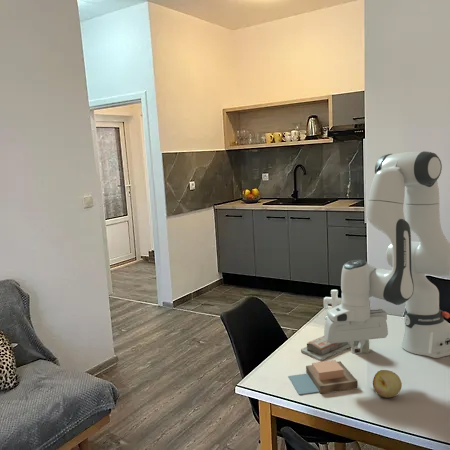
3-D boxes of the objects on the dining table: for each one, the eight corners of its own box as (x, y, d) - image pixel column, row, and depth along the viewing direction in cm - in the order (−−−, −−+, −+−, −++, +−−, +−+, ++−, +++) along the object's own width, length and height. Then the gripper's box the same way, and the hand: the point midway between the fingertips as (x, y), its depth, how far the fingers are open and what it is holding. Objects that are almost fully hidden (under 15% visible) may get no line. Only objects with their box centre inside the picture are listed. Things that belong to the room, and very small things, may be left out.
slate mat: (310, 373, 152) (310, 373, 152) (322, 391, 140) (322, 390, 140) (288, 376, 151) (288, 376, 151) (299, 395, 139) (298, 394, 139)
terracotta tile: (335, 367, 150) (335, 359, 150) (343, 377, 143) (343, 369, 143) (312, 370, 149) (311, 363, 149) (319, 380, 142) (319, 372, 142)
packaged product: (333, 327, 178) (353, 335, 170) (333, 339, 179) (353, 347, 170) (299, 341, 168) (319, 349, 160) (300, 353, 169) (320, 362, 160)
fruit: (368, 392, 138) (367, 368, 136) (392, 387, 139) (392, 363, 138) (382, 405, 130) (381, 379, 129) (407, 400, 132) (407, 374, 131)
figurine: (327, 319, 198) (325, 286, 196) (348, 322, 194) (347, 288, 192) (322, 325, 192) (320, 291, 190) (344, 328, 188) (343, 293, 185)
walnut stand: (340, 368, 154) (340, 361, 154) (357, 388, 140) (357, 381, 140) (306, 372, 153) (306, 365, 152) (320, 393, 139) (320, 386, 139)
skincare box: (369, 348, 168) (368, 316, 166) (369, 353, 163) (368, 321, 161) (351, 347, 169) (350, 316, 167) (351, 352, 165) (350, 320, 163)
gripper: (382, 305, 149) (382, 345, 150) (321, 311, 146) (322, 352, 148) (391, 311, 142) (391, 353, 144) (328, 317, 140) (329, 360, 142)
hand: (356, 352), depth 146 cm, fingers closed
